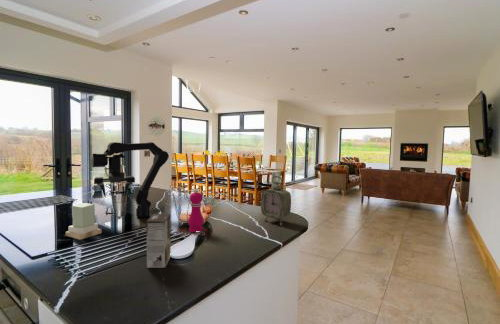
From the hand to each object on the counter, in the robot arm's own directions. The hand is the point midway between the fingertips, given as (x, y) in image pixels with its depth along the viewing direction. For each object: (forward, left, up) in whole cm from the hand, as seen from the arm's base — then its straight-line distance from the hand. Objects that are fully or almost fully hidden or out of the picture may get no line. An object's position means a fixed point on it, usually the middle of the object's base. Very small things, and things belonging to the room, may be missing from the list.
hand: (115, 196), depth 144 cm
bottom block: (+13, +17, -14) cm, 25 cm away
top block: (+13, +17, -11) cm, 24 cm away
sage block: (+13, +17, -9) cm, 23 cm away
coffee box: (-13, +60, -13) cm, 63 cm away
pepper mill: (-34, +32, -13) cm, 49 cm away
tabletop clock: (-77, +35, -13) cm, 86 cm away
